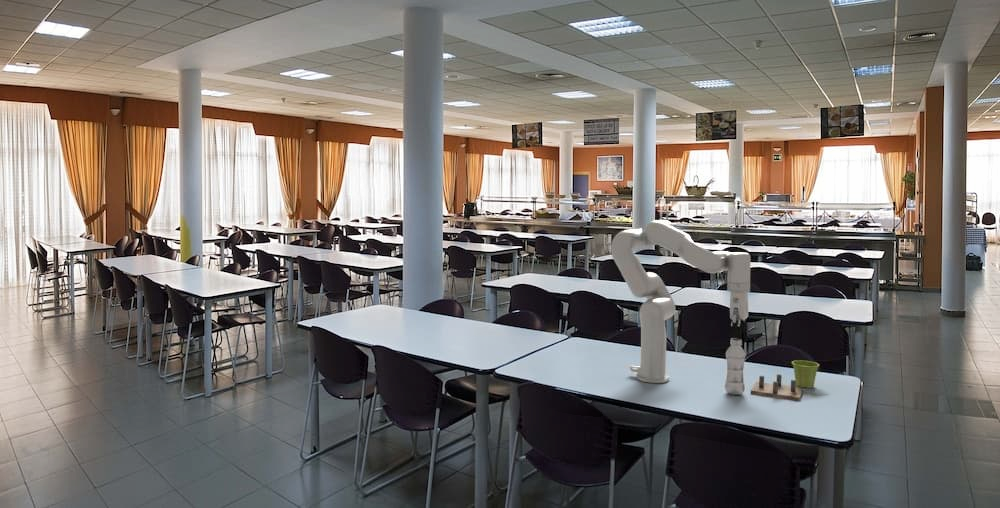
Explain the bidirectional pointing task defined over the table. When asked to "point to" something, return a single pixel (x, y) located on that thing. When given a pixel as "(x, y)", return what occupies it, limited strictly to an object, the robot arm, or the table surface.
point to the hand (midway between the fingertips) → (737, 334)
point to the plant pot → (805, 373)
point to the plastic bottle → (735, 368)
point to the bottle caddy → (777, 389)
